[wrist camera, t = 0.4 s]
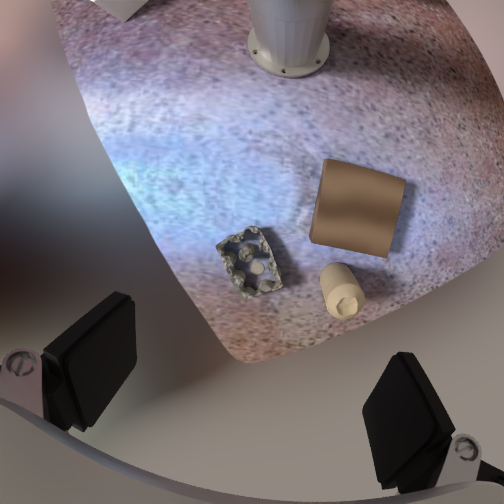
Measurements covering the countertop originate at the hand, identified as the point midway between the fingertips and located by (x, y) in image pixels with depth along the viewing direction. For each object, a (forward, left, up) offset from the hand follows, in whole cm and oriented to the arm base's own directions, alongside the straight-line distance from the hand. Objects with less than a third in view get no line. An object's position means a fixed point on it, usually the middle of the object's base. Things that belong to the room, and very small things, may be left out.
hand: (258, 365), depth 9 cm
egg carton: (+9, -3, -35) cm, 36 cm away
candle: (+9, +11, -35) cm, 38 cm away
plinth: (-3, +11, -34) cm, 36 cm away
